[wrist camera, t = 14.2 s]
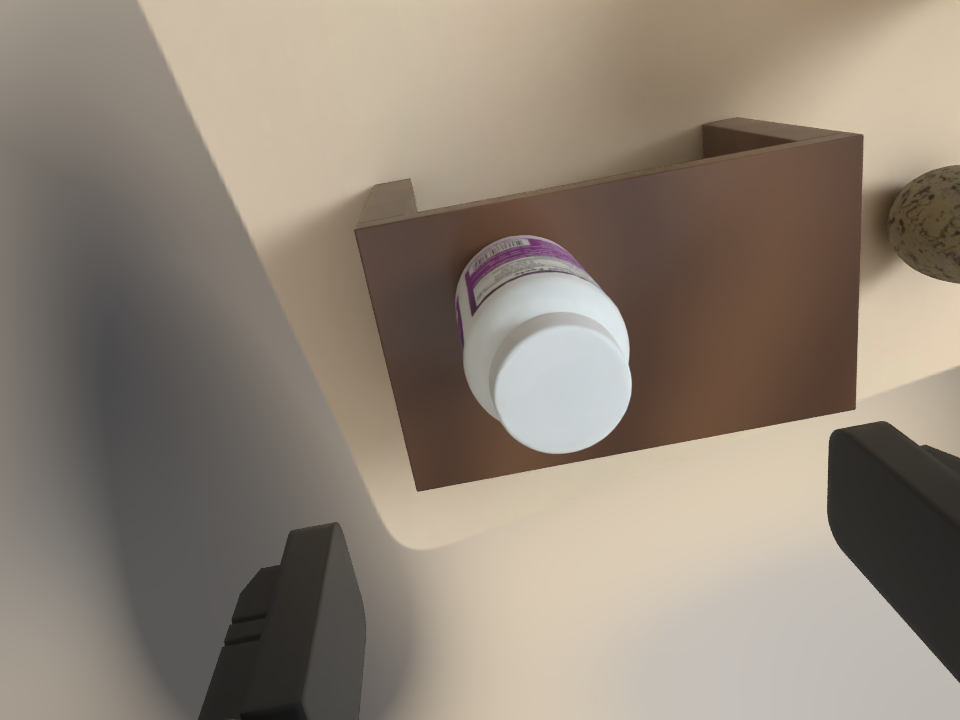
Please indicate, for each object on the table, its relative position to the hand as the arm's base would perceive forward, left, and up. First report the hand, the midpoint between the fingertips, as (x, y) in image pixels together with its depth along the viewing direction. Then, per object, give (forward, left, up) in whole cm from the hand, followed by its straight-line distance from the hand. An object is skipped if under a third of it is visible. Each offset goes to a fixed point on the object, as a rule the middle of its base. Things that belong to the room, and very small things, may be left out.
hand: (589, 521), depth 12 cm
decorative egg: (+25, -5, -30) cm, 40 cm away
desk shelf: (+5, -4, -30) cm, 31 cm away
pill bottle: (+1, -2, -18) cm, 18 cm away
